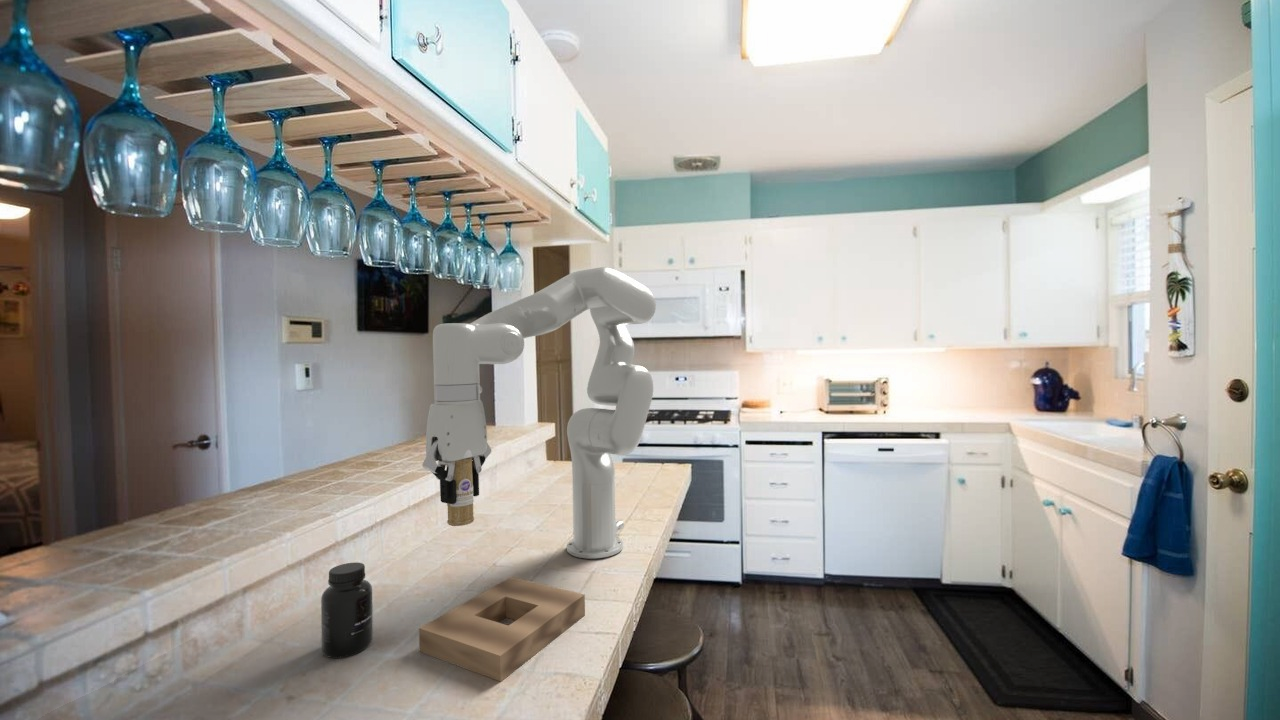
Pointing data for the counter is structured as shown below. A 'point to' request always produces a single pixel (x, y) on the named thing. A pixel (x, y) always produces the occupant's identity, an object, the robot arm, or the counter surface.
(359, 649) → the supplement bottle
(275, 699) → the counter surface
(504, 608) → the spice holder
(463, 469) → the sprinkles bottle
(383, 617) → the counter surface
